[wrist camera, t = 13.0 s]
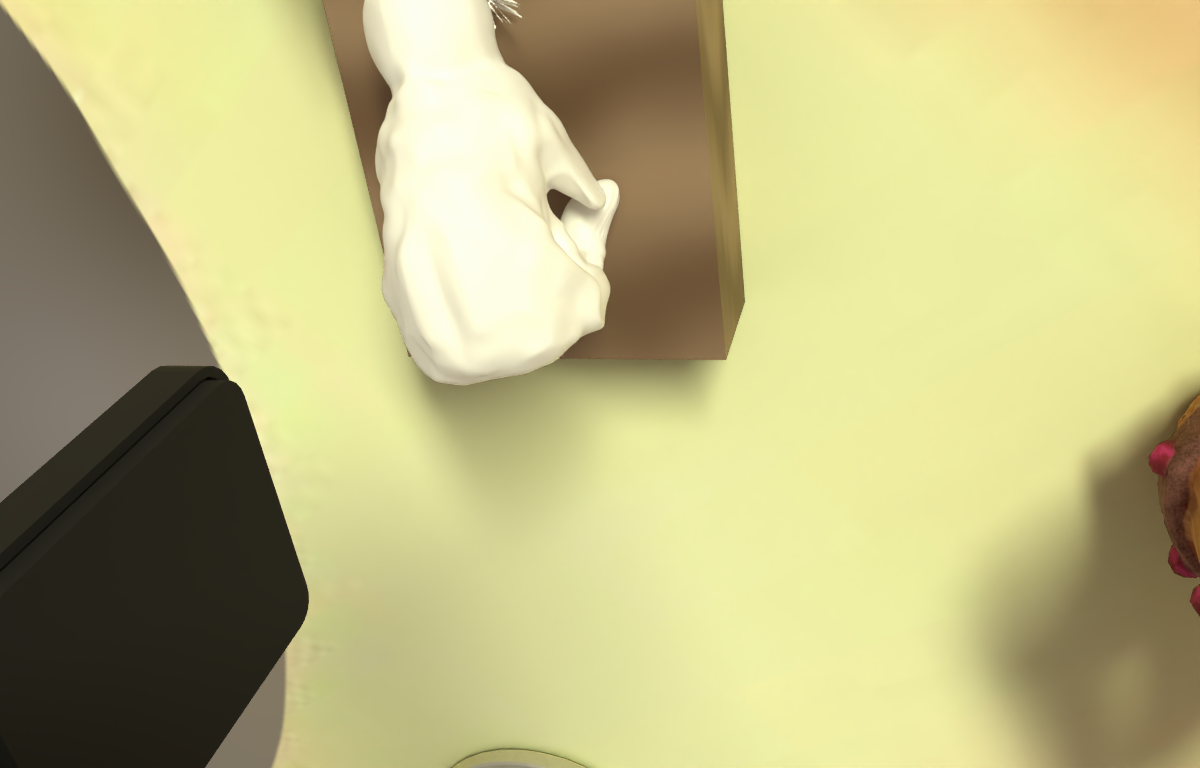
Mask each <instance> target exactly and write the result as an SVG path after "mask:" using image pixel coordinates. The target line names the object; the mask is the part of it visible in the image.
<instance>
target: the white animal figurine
mask: <svg viewBox="0 0 1200 768" xmlns="http://www.w3.org/2000/svg"><path fill="white" fill-rule="evenodd" d="M510 2H512V3H515V4H518V3H517V2H515V1H513V0H365V1H364V6H363V26H364V33H365V38H366V42H367V46H368V49H369V52H370V54H371V57H372V59H373V61H374V63H375V65H376V67H377V68H378V70H379V71H380V73H381V75H382V76H383V78H384V79H385V81H386V82H387V84H388V85H389V87H390V89H391V92H392V100H391V101H390V103H389V105H388V108H387V112H386V116H385V119H384V122H383V123H382V125H381V128H380V130H379V134H378V139H377V147H376V153H375V167H376V174H377V178H378V181H379V183H380V200H381V205H382V208H383V212H384V224H383V245H384V272H383V280H382V292H383V296H384V299H385V301H386V303H387V305H388V307H389V308H390V310H391V312H392V314H393V316H394V318H395V319H396V321H397V323H398V326H399V329H400V332H401V335H402V338H403V341H404V343H405V345H406V347H407V349H408V351H409V353H410V354H411V356H412V358H413V360H414V361H415V363H416V365H417V366H418V367H419V368H420V369H421V370H422V371H423V372H424V373H425V374H426V375H427V376H428V377H430V378H431V379H432V380H434V381H436V382H439V383H446V384H453V385H471V384H475V383H479V382H484V381H488V380H492V379H499V378H505V377H509V376H517V375H524V374H527V373H530V372H532V371H534V370H536V369H539V368H541V367H544V366H547V365H549V364H551V363H553V362H555V361H556V360H557V359H558V358H560V357H561V356H562V355H563V354H564V353H565V352H566V351H567V350H568V349H569V348H570V347H571V346H572V345H573V344H574V343H576V342H577V341H578V340H579V338H580V337H582V336H584V335H586V334H589V333H591V332H594V331H597V330H600V329H602V328H603V327H604V324H605V312H606V306H607V302H608V299H609V295H610V284H609V281H608V279H607V277H606V275H605V273H604V272H603V266H604V259H605V255H606V248H605V244H606V239H607V234H608V231H609V227H610V224H611V221H612V218H613V216H614V214H615V211H616V209H617V207H618V204H619V198H620V195H619V188H618V185H617V184H616V183H615V182H614V181H613V180H610V179H602V180H598V181H596V179H595V178H594V176H593V175H592V173H591V171H590V170H589V168H588V166H587V164H586V163H585V161H584V160H583V158H582V157H581V155H580V154H579V152H578V151H577V149H576V148H575V146H574V145H573V143H572V142H571V140H570V138H569V136H568V134H567V132H566V130H565V128H564V126H563V124H562V123H561V121H560V120H559V118H558V117H557V116H556V115H555V113H554V112H553V111H552V110H551V109H550V108H548V107H547V106H546V105H545V104H544V103H543V102H542V100H541V99H540V98H539V96H538V95H537V94H536V92H535V91H534V89H533V88H532V87H531V85H530V84H529V83H528V81H527V80H526V79H525V78H524V77H523V76H522V75H521V74H520V73H519V72H518V71H516V70H515V69H513V68H511V67H509V66H508V65H506V64H505V62H504V60H503V58H502V55H501V53H500V51H499V49H498V46H497V42H496V36H495V28H496V26H495V25H494V21H493V16H492V12H491V10H492V11H493V12H494V13H496V12H495V10H494V9H493V8H492V6H491V5H490V4H492V5H494V6H496V8H497V7H498V8H500V9H503V10H505V11H507V12H509V13H512V14H514V15H516V16H519V17H521V18H522V16H520V15H519V14H517V11H515V10H513V9H511V8H510V7H508V6H506V5H504V4H507V5H510V6H514V7H518V6H516V5H514V4H512V3H510ZM519 5H520V4H519ZM500 12H501V11H500ZM501 14H502V12H501ZM496 15H497V13H496ZM503 16H504V14H503ZM497 17H499V16H497ZM505 18H506V17H505ZM499 19H500V17H499ZM502 19H503V18H502ZM502 19H500V20H501V21H502ZM506 19H507V18H506ZM504 21H505V20H504ZM508 21H509V20H508ZM505 22H506V21H505ZM506 23H507V22H506ZM550 189H555V190H558V191H559V192H561V193H563V194H565V195H567V196H569V197H571V198H572V199H571V200H570V201H569V202H568V204H567V205H566V207H565V209H564V211H563V214H562V217H561V219H560V220H559V219H558V218H557V217H556V216H555V215H554V214H553V212H552V211H551V209H550V207H549V204H548V201H547V193H548V191H549V190H550Z"/></svg>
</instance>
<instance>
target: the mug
mask: <svg viewBox="0 0 1200 768" xmlns="http://www.w3.org/2000/svg"><path fill="white" fill-rule="evenodd" d="M1149 465H1150V467H1151V469H1152V471H1153V472H1155V473H1157V474H1159V476H1158V492H1159V500H1160V505H1161V509H1162V513H1163V514H1164V523H1165V525H1166V528H1167V530H1168V533H1169V536H1170V538H1171V541H1172V543H1173V545H1172V546H1171V549H1170V552H1169V557H1168V563H1169V565H1170V566H1171V568H1172V570H1173V572H1174V573H1175V574H1178V575H1180V576H1182V577H1188V578H1196V577H1200V394H1199V395H1198V396H1197V397H1196V398H1195V400H1194V401H1193V402H1192V403H1191V404H1190V406H1189V407H1188V409H1187V410H1186V412H1185V413H1184V415H1183V416H1182V417H1181V418H1180V419H1179V420H1178V425H1177V431H1176V432H1175V433H1174V434H1173V435H1172V437H1171V438H1170V439H1169V440H1167V441H1163V442H1161V443H1160V444H1158V445H1157V446H1156V448H1155V449H1154V450H1153V452H1152V453H1151V454H1150V456H1149ZM1190 602H1191V604H1192V606H1193V607H1194V609H1195V610H1196V612H1197V613H1198V615H1199V616H1200V584H1199V585H1198V586H1197V587H1195V588H1194V589H1193V592H1192V595H1191V599H1190Z"/></svg>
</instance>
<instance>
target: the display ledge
mask: <svg viewBox="0 0 1200 768" xmlns="http://www.w3.org/2000/svg"><path fill="white" fill-rule="evenodd" d="M364 1H365V0H323V4H324V8H325V12H326V16H327V20H328V24H329V28H330V33H331V37H332V41H333V45H334V49H335V53H336V57H337V62H338V66H339V70H340V74H341V78H342V82H343V86H344V91H345V95H346V99H347V103H348V107H349V111H350V115H351V120H352V124H353V128H354V132H355V136H356V140H357V144H358V149H359V153H360V157H361V161H362V165H363V169H364V173H365V178H366V182H367V186H368V190H369V194H370V198H371V202H372V207H373V211H374V215H375V219H376V223H377V227H378V231H379V236H380V240H381V244H382V248H383V252H384V245H383V224H384V212H383V208H382V205H381V200H380V183H379V181H378V178H377V174H376V167H375V153H376V147H377V139H378V134H379V130H380V128H381V125H382V123H383V122H384V119H385V116H386V112H387V108H388V105H389V103H390V101H391V100H392V92H391V89H390V87H389V85H388V84H387V82H386V81H385V79H384V78H383V76H382V75H381V73H380V71H379V70H378V68H377V67H376V65H375V63H374V61H373V59H372V57H371V54H370V52H369V49H368V46H367V42H366V38H365V33H364V26H363V6H364ZM513 1H515V2H517V3H518V4H515V3H512V2H510V3H512V4H514V5H516V6H518V7H514V6H510V5H507V4H504V5H506V6H508V7H510V8H511V9H513V10H515V11H517V14H519V15H520V16H522V18H521V17H519V16H516V15H514V14H512V13H509V12H507V11H505V10H503V9H500V8H498V7H497V8H496V6H494V5H492V4H490V5H491V6H492V8H493V9H494V10H495V12H496V13H497V15H496V13H494V12H493V11H492V10H491V12H492V16H493V21H494V25H495V26H496V28H495V36H496V42H497V46H498V49H499V51H500V53H501V55H502V58H503V60H504V62H505V64H506V65H508V66H509V67H511V68H513V69H515V70H516V71H518V72H519V73H520V74H521V75H522V76H523V77H524V78H525V79H526V80H527V81H528V83H529V84H530V85H531V87H532V88H533V89H534V91H535V92H536V94H537V95H538V96H539V98H540V99H541V100H542V102H543V103H544V104H545V105H546V106H547V107H548V108H550V109H551V110H552V111H553V112H554V113H555V115H556V116H557V117H558V118H559V120H560V121H561V123H562V124H563V126H564V128H565V130H566V132H567V134H568V136H569V138H570V140H571V142H572V143H573V145H574V146H575V148H576V149H577V151H578V152H579V154H580V155H581V157H582V158H583V160H584V161H585V163H586V164H587V166H588V168H589V170H590V171H591V173H592V175H593V176H594V178H595V179H596V181H598V180H602V179H610V180H613V181H614V182H615V183H616V184H617V185H618V188H619V195H620V198H619V204H618V207H617V209H616V211H615V214H614V216H613V218H612V221H611V224H610V227H609V231H608V234H607V239H606V244H605V248H606V255H605V259H604V266H603V272H604V273H605V275H606V277H607V279H608V281H609V284H610V295H609V299H608V302H607V306H606V312H605V324H604V327H603V328H602V329H600V330H597V331H594V332H591V333H589V334H586V335H584V336H582V337H580V338H579V340H578V341H577V342H576V343H574V344H573V345H572V346H571V347H570V348H569V349H568V350H567V351H566V352H565V353H564V354H563V355H562V356H561V357H560V358H591V359H688V360H726V358H727V355H728V352H729V349H730V346H731V343H732V340H733V337H734V334H735V331H736V327H737V324H738V321H739V318H740V315H741V312H742V309H743V306H744V303H745V297H744V283H743V270H742V256H741V243H740V229H739V216H738V202H737V189H736V175H735V162H734V148H733V135H732V121H731V108H730V94H729V81H728V67H727V54H726V40H725V27H724V13H723V0H513ZM519 4H520V5H519ZM500 11H501V12H502V14H501V12H500ZM503 14H504V16H503ZM497 16H499V17H500V19H502V18H503V19H502V21H501V20H500V19H499V17H497ZM505 17H506V18H507V19H506V18H505ZM504 20H505V21H506V22H507V23H506V22H505V21H504ZM508 20H509V21H508ZM571 199H572V198H571V197H569V196H567V195H565V194H563V193H561V192H559V191H558V190H555V189H550V190H549V191H548V193H547V201H548V204H549V207H550V209H551V211H552V212H553V214H554V215H555V216H556V217H557V218H558V219H559V220H560V219H561V217H562V214H563V211H564V209H565V207H566V205H567V204H568V202H569V201H570V200H571ZM407 352H408V356H409V357H412V356H411V354H410V353H409V351H408V349H407Z"/></svg>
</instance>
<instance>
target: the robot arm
mask: <svg viewBox="0 0 1200 768" xmlns="http://www.w3.org/2000/svg"><path fill="white" fill-rule="evenodd" d="M308 603H309V593H308V588H307V584H306V581H305V578H304V575H303V572H302V569H301V566H300V563H299V560H298V557H297V554H296V551H295V548H294V545H293V542H292V539H291V536H290V533H289V530H288V527H287V524H286V520H285V517H284V514H283V511H282V508H281V505H280V502H279V499H278V496H277V493H276V490H275V487H274V484H273V481H272V478H271V475H270V472H269V469H268V466H267V463H266V460H265V457H264V454H263V451H262V447H261V444H260V441H259V438H258V435H257V432H256V429H255V426H254V423H253V420H252V417H251V414H250V411H249V408H248V405H247V402H246V399H245V396H244V394H243V392H242V389H241V388H240V387H239V386H238V385H237V383H235V382H232V381H229V379H228V377H227V375H226V374H225V373H224V372H223V371H222V370H221V369H219V368H216V367H214V366H160V367H158V368H156V369H155V370H153V371H151V372H150V373H149V374H148V375H147V376H146V377H144V378H143V379H142V380H141V381H140V382H139V383H138V384H136V385H135V386H134V387H133V388H132V389H131V390H129V391H128V392H127V393H126V394H125V395H124V396H123V397H121V398H120V399H119V400H118V401H117V402H116V403H115V404H113V405H112V406H111V407H110V408H109V409H108V410H107V411H105V412H104V413H103V414H102V415H101V416H100V417H98V418H97V419H96V420H95V421H94V422H93V423H91V424H90V426H88V427H87V428H86V429H85V430H84V431H82V432H81V433H80V434H79V435H78V436H77V437H75V438H74V439H73V440H72V441H71V442H70V443H69V444H67V445H66V446H65V447H64V448H63V449H62V450H60V451H59V452H58V453H57V454H56V455H55V456H54V457H53V458H51V459H50V460H49V461H48V462H47V463H46V464H44V465H43V466H42V467H41V468H40V469H39V470H37V471H36V472H35V473H34V474H33V475H32V476H31V477H29V478H28V479H27V480H26V481H25V482H24V483H22V484H21V485H20V486H19V487H18V488H17V489H16V490H14V491H13V492H12V493H11V494H10V495H9V496H8V497H6V498H5V499H4V500H3V501H2V502H1V503H0V768H205V767H206V765H207V764H208V762H209V761H210V759H211V758H212V756H213V755H214V753H215V752H216V750H217V749H218V748H219V746H220V745H221V743H222V742H223V740H224V739H225V737H226V736H227V734H228V733H229V731H230V730H231V729H232V727H233V726H234V724H235V723H236V721H237V720H238V718H239V717H240V715H241V714H242V712H243V711H244V709H245V708H246V707H247V705H248V704H249V702H250V701H251V699H252V698H253V696H254V695H255V693H256V692H257V690H258V689H259V687H260V686H261V684H262V683H263V681H264V680H265V679H266V677H267V676H268V674H269V672H270V671H271V670H272V668H273V667H274V665H275V664H276V662H277V661H278V659H279V658H280V657H281V655H282V654H283V652H284V651H285V649H286V648H287V646H288V645H289V643H290V642H291V641H292V639H293V638H294V636H295V635H296V633H297V632H298V630H299V629H300V627H301V626H302V624H303V622H304V620H305V617H306V614H307V610H308ZM453 768H586V767H584V766H581V765H579V764H577V763H574V762H572V761H570V760H567V759H564V758H561V757H557V756H553V755H550V754H546V753H541V752H535V751H528V750H496V751H490V752H484V753H480V754H477V755H475V756H472V757H469V758H466V759H465V760H463V761H462V762H460V763H458V764H457V765H455V766H454V767H453Z"/></svg>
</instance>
